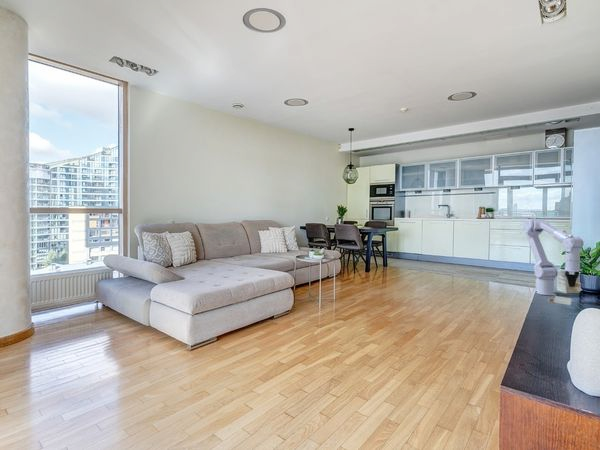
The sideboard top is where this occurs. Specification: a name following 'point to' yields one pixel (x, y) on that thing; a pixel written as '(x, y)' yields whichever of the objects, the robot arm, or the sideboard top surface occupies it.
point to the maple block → (576, 288)
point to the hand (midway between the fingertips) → (571, 285)
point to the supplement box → (564, 282)
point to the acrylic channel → (563, 300)
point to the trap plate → (551, 300)
